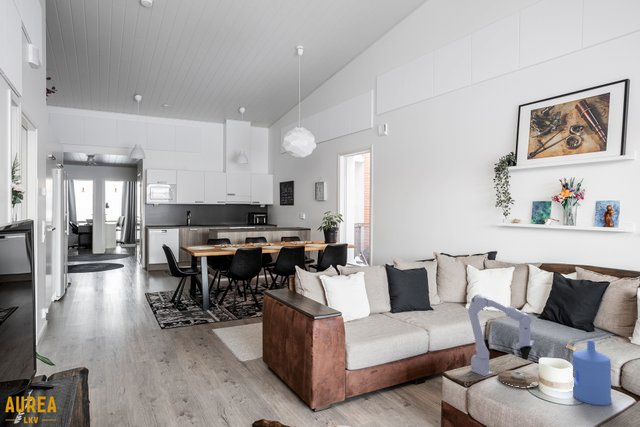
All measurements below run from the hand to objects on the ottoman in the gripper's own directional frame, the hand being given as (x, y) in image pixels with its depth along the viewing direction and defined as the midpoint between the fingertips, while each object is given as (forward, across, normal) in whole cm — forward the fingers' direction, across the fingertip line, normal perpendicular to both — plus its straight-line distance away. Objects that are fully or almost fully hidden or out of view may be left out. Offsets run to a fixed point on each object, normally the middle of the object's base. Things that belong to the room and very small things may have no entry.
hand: (525, 359), depth 227 cm
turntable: (+9, -10, -2) cm, 14 cm away
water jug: (+10, 0, -34) cm, 35 cm away
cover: (+8, -10, -2) cm, 13 cm away
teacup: (+10, +11, -16) cm, 22 cm away
